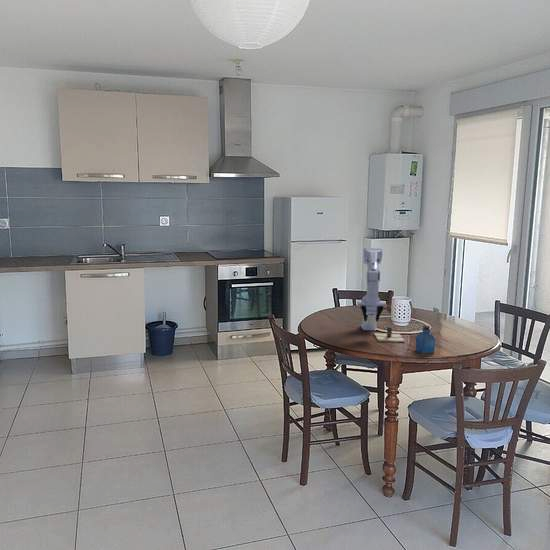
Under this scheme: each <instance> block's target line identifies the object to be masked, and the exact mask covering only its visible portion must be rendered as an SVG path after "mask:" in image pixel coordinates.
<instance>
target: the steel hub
mask: <svg viewBox="0 0 550 550" xmlns="http://www.w3.org/2000/svg"><path fill="white" fill-rule="evenodd" d="M377 323H378V321H377V314H375V313H366V321H365V324H367V325H376V326H377Z"/></svg>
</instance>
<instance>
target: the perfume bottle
mask: <svg viewBox="0 0 550 550" xmlns="http://www.w3.org/2000/svg"><path fill="white" fill-rule="evenodd" d="M430 327H431V326H429V325H422V328H421V329H422V330H421V331H422V332H421V331H420V332H419V333H418V334H417V335H416V337H415V349H416V350H415V351H417V350H418V351H417V352H419V353H421V354H433V353H432V352H434V353H435V347H436V346H435V345H436V339H435V337H434V335H433V334H432V333H430V332H431V328H430Z"/></svg>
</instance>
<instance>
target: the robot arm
mask: <svg viewBox="0 0 550 550" xmlns="http://www.w3.org/2000/svg"><path fill="white" fill-rule="evenodd" d="M382 259H383V248H382V247H366V246H365V247H364V248H363V263H364V264H366V265H367V271H366V280H365V281H366V294H365V295H364V296H362V298H361V301H360V302H356V307H357V308H359V307H360V311H361V312H362V324H360V327H361V329H362V330H363V331H376V330H378V331H379V329H378V328H377V325H367V324H365V321H366V313H375V314H377V322H379V320H380V316H381V314H382V313H383V311H384V308H387V307H388V305H387V303H386V302H380V301H381V298H380V297H379V284H380V280H381V271H380V266H379V265H381V263H382Z"/></svg>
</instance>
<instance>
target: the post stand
mask: <svg viewBox="0 0 550 550" xmlns="http://www.w3.org/2000/svg"><path fill="white" fill-rule="evenodd" d="M386 328H387V329H386V332H384V333H383V332H374V333H373V335H375V336H374V337H375V339H376V341H377V342H378V343H397V342H406V341H405V339H404V338H403V336H402V335H401V333H396V332H395V333H393V327H392V326H387V327H386Z"/></svg>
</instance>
